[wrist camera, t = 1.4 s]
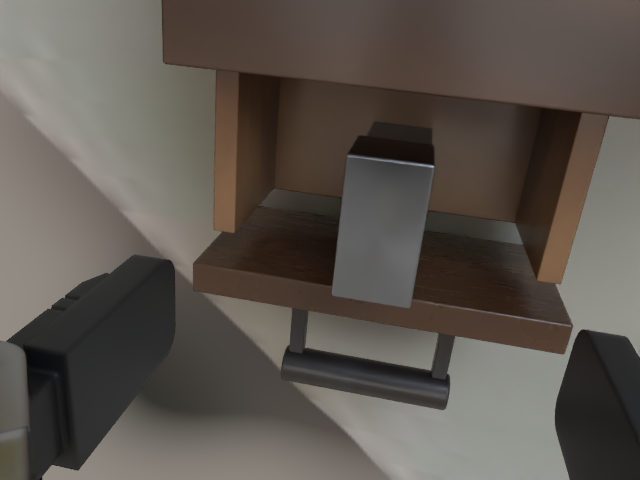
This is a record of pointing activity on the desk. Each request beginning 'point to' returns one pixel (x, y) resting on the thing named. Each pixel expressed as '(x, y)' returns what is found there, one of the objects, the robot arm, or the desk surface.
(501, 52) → the cabinet
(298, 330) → the drawer
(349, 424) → the desk surface
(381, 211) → the tall brushed metal prism
